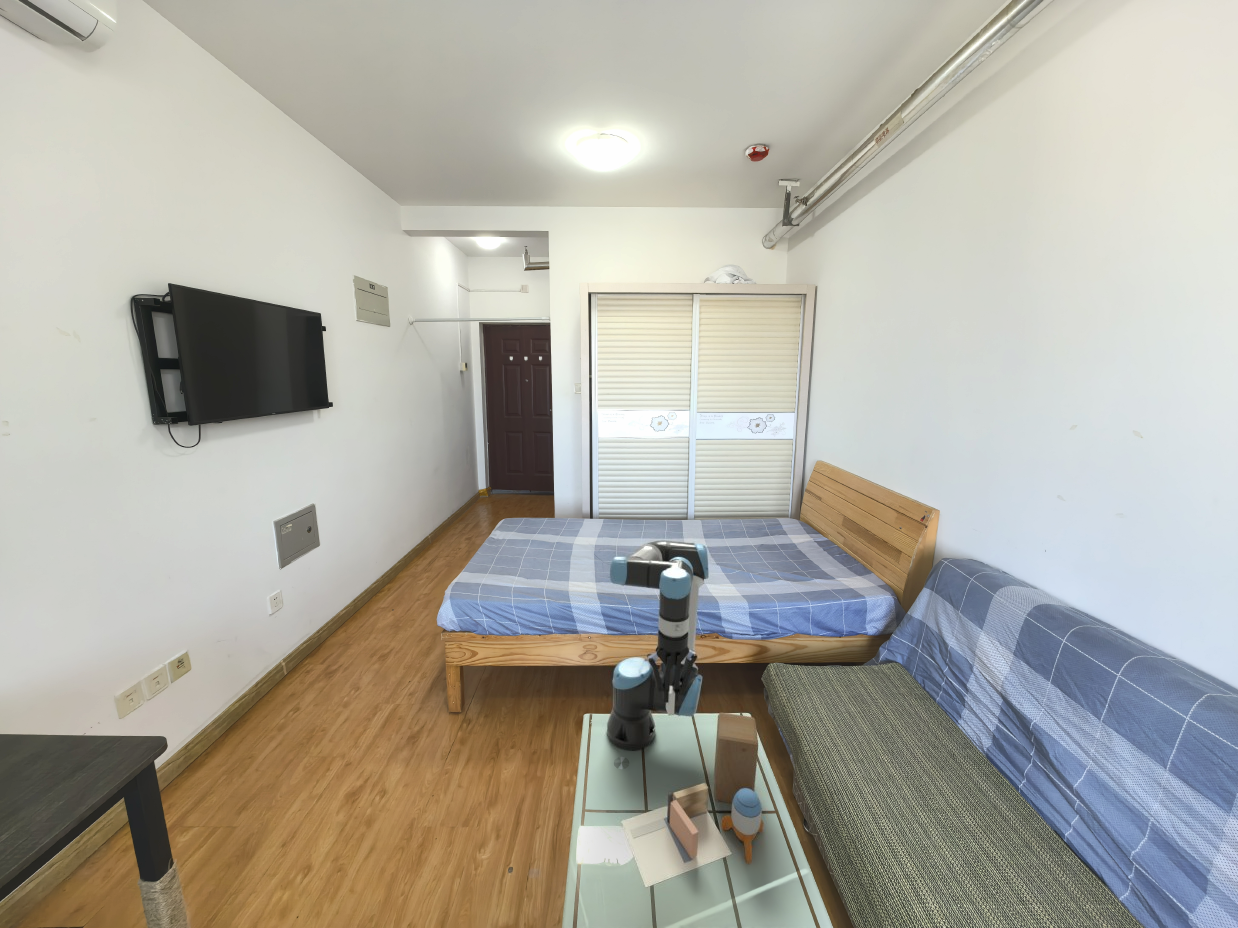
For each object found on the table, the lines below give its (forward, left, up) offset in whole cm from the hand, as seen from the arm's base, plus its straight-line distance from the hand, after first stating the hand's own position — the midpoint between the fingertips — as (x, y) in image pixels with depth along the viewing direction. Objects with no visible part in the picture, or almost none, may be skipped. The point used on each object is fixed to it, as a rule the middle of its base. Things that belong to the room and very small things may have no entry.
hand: (669, 711), depth 121 cm
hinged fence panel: (+15, -3, -23) cm, 28 cm away
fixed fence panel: (+9, +1, -24) cm, 26 cm away
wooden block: (+6, +17, -25) cm, 31 cm away
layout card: (+13, -4, -24) cm, 28 cm away
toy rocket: (+19, +13, -25) cm, 34 cm away
